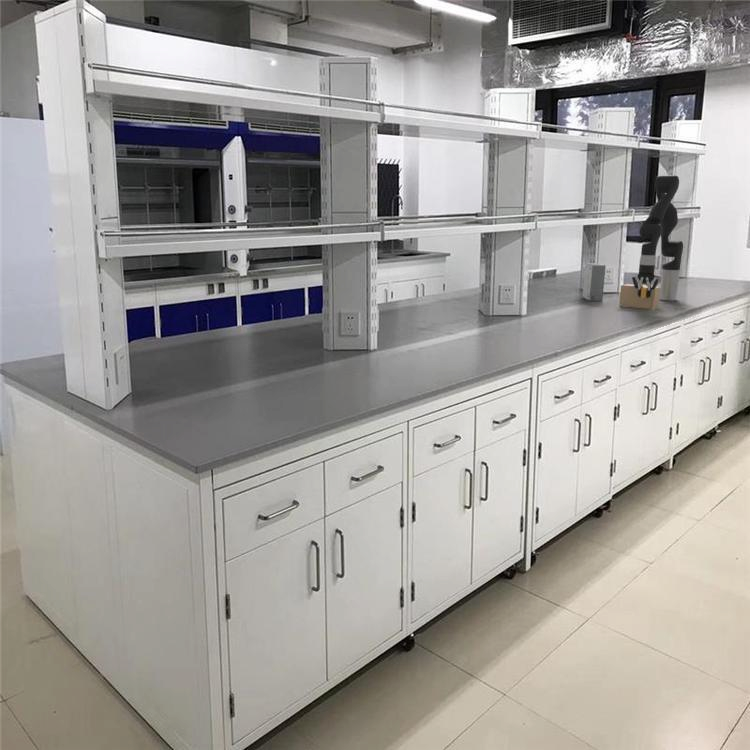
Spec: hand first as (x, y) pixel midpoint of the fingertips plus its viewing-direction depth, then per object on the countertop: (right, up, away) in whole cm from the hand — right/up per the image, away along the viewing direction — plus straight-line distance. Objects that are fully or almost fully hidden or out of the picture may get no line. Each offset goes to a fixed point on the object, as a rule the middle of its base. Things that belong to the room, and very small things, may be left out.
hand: (644, 297), depth 371 cm
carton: (+1, -4, +11) cm, 12 cm away
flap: (-3, -5, +5) cm, 8 cm away
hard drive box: (-16, +3, +37) cm, 40 cm away
